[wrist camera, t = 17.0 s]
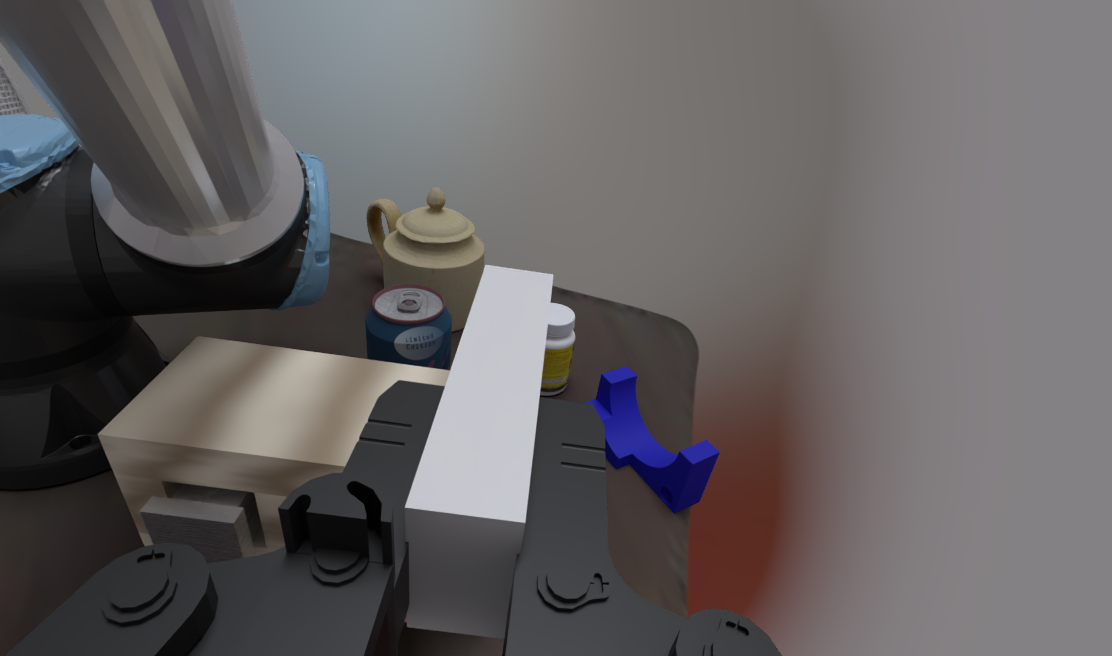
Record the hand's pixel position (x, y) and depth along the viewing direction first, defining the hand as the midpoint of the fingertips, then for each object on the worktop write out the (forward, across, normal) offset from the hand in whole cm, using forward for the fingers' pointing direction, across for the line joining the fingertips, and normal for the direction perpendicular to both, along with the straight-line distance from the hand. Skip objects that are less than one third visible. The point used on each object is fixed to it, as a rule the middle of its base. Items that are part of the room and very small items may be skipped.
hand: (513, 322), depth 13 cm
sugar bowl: (+46, -14, -30) cm, 57 cm away
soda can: (+28, -10, -30) cm, 43 cm away
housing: (+14, -10, -30) cm, 35 cm away
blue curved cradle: (+26, +11, -30) cm, 41 cm away
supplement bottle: (+35, +2, -30) cm, 47 cm away
